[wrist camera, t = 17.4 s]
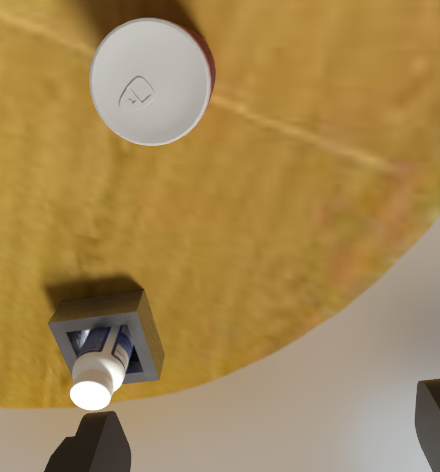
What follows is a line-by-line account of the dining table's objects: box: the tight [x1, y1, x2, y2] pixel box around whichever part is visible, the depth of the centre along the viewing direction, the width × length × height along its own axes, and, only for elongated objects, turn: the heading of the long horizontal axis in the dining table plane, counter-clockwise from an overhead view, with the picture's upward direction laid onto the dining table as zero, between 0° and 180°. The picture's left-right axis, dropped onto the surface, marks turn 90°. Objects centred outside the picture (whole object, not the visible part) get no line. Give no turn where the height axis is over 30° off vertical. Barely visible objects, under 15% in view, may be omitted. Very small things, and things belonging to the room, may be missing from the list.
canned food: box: [89, 18, 216, 146], centre depth 30 cm, size 8×8×11 cm
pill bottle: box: [70, 324, 134, 410], centre depth 43 cm, size 5×5×10 cm
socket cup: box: [48, 290, 165, 384], centre depth 46 cm, size 10×10×4 cm
